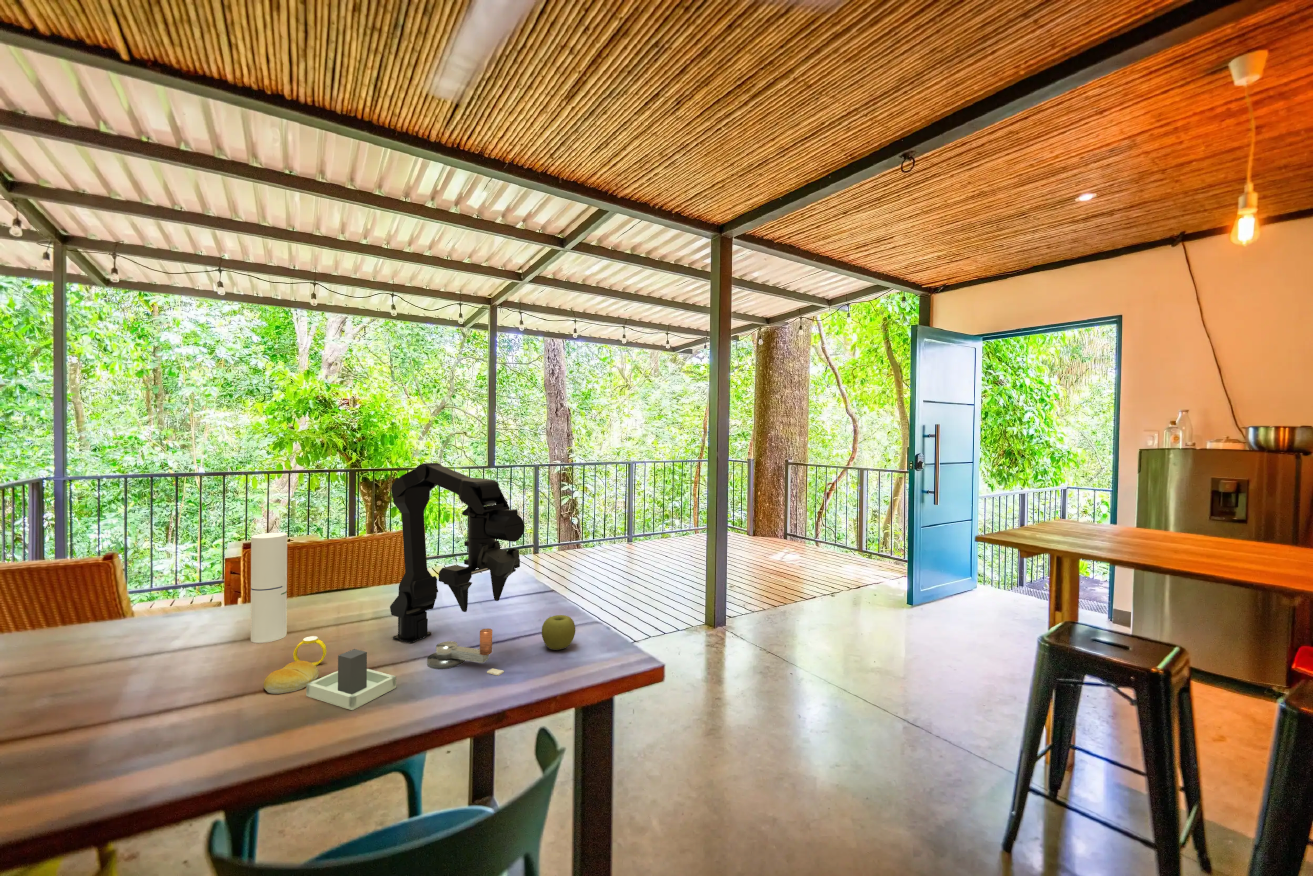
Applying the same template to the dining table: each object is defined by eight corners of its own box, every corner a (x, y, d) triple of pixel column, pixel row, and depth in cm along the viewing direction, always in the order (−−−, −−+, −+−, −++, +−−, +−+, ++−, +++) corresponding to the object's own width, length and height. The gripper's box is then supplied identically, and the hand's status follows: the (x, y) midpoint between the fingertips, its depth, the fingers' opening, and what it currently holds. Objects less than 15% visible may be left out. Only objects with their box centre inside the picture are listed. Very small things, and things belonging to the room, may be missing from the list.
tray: (352, 710, 99) (352, 697, 99) (306, 696, 104) (306, 684, 104) (396, 687, 108) (396, 676, 108) (352, 675, 113) (352, 664, 113)
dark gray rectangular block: (337, 691, 105) (338, 655, 105) (354, 683, 108) (354, 648, 108) (350, 695, 104) (350, 658, 103) (366, 687, 107) (366, 652, 107)
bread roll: (253, 693, 105) (253, 672, 105) (294, 673, 114) (294, 654, 114) (288, 698, 103) (288, 677, 103) (327, 677, 112) (327, 658, 112)
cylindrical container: (243, 640, 131) (244, 536, 130) (274, 630, 137) (274, 531, 137) (263, 645, 128) (263, 539, 128) (293, 634, 135) (293, 534, 134)
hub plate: (418, 664, 118) (418, 660, 118) (446, 651, 126) (446, 647, 126) (446, 671, 115) (447, 667, 115) (473, 657, 123) (473, 653, 123)
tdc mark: (486, 673, 115) (486, 671, 115) (492, 669, 117) (492, 668, 117) (498, 675, 114) (498, 674, 114) (503, 672, 115) (503, 671, 115)
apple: (568, 655, 124) (568, 624, 124) (535, 652, 126) (536, 621, 126) (579, 643, 132) (580, 613, 132) (548, 640, 134) (549, 611, 133)
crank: (431, 657, 119) (431, 627, 119) (444, 650, 123) (445, 620, 123) (485, 666, 115) (485, 635, 115) (496, 658, 119) (497, 627, 119)
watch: (326, 662, 120) (329, 635, 120) (322, 668, 117) (325, 640, 117) (295, 663, 118) (298, 636, 118) (290, 669, 115) (293, 641, 115)
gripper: (473, 548, 109) (472, 625, 110) (537, 534, 125) (537, 601, 126) (437, 542, 115) (436, 615, 115) (503, 529, 131) (502, 593, 131)
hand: (481, 606), depth 122 cm, fingers open, 9 cm apart
